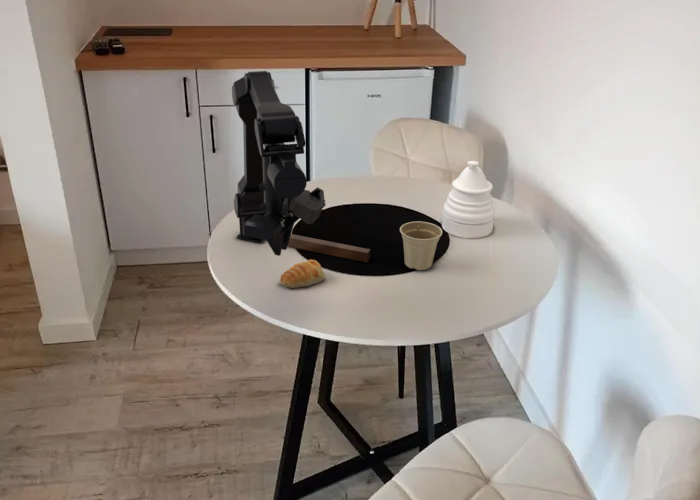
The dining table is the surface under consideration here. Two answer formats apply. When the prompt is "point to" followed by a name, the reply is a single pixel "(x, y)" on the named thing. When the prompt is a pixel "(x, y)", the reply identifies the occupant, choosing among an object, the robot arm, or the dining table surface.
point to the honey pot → (469, 205)
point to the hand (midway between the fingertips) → (280, 252)
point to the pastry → (303, 274)
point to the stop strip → (329, 248)
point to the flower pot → (420, 243)
